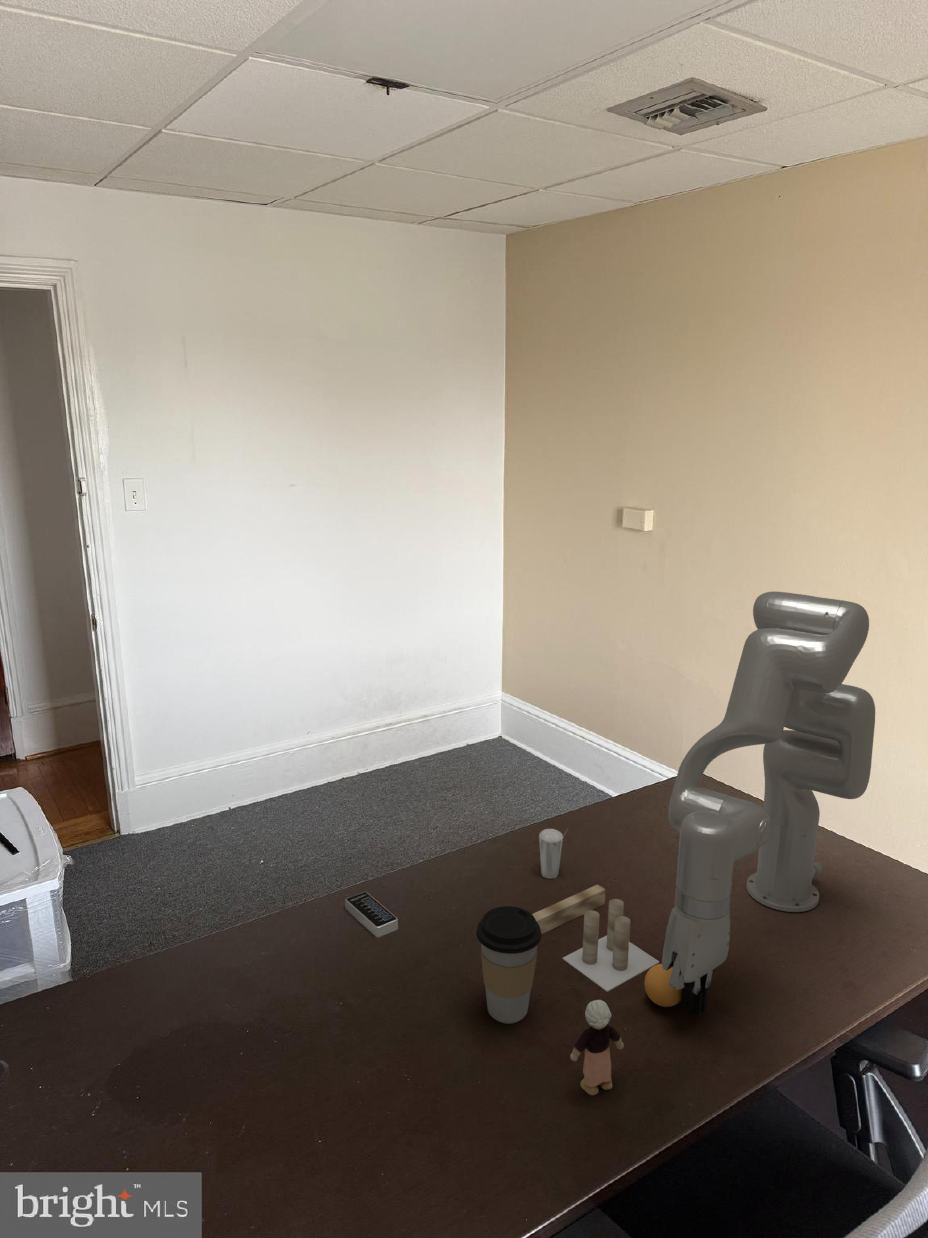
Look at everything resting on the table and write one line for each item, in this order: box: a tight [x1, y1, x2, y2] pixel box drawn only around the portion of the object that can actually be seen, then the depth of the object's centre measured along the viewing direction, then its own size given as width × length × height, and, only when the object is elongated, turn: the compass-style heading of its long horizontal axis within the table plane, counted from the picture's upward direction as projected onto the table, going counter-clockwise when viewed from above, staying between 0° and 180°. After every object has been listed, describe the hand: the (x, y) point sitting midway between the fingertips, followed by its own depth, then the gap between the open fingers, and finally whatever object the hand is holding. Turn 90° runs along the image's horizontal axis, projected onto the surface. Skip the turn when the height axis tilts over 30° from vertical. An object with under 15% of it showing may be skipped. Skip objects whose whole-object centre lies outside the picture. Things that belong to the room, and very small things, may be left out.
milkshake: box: [538, 828, 568, 880], centre depth 163 cm, size 4×5×10 cm
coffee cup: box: [475, 905, 542, 1025], centre depth 126 cm, size 9×9×15 cm
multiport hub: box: [344, 891, 399, 938], centre depth 150 cm, size 4×11×2 cm, turn 37°
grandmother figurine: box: [569, 999, 625, 1096], centre depth 112 cm, size 8×4×13 cm, turn 123°
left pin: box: [582, 910, 600, 965], centre depth 138 cm, size 2×2×8 cm
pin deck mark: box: [562, 935, 660, 993], centre depth 139 cm, size 12×10×1 cm
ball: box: [644, 963, 682, 1008], centre depth 129 cm, size 6×6×6 cm
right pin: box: [606, 898, 625, 952], centre depth 141 cm, size 2×2×8 cm
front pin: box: [612, 915, 631, 971], centre depth 136 cm, size 2×2×8 cm
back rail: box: [531, 884, 606, 935], centre depth 149 cm, size 22×2×3 cm, turn 127°
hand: (692, 1009), depth 126 cm, fingers closed
